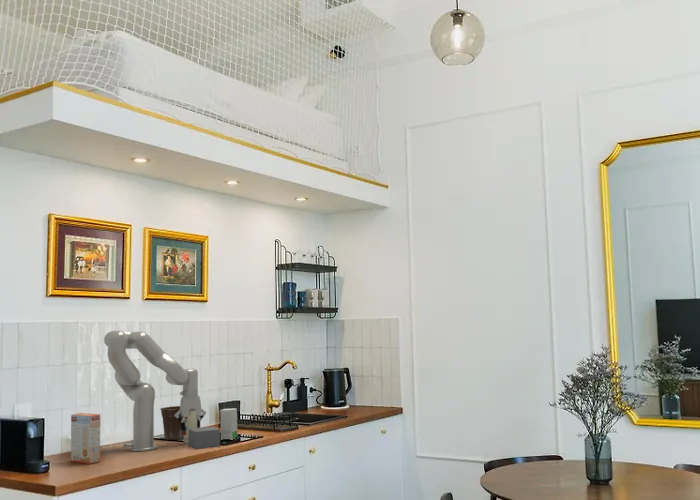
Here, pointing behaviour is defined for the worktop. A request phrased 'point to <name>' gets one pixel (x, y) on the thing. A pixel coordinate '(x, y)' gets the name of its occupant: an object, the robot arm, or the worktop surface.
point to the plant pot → (172, 423)
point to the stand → (204, 437)
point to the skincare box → (228, 423)
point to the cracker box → (85, 438)
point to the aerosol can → (189, 424)
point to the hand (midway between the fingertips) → (190, 429)
